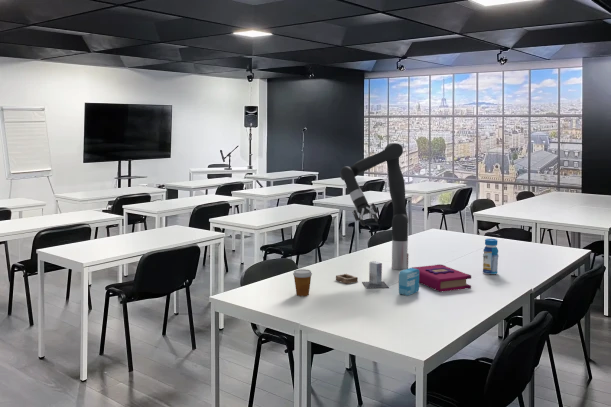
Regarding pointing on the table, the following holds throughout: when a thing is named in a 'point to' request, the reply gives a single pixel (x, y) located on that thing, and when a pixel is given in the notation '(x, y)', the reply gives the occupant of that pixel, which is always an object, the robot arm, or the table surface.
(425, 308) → the table surface
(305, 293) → the disposable coffee cup
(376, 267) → the light grey rectangular block
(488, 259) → the beverage bottle
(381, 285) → the black mat
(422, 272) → the book
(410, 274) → the data package
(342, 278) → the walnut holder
